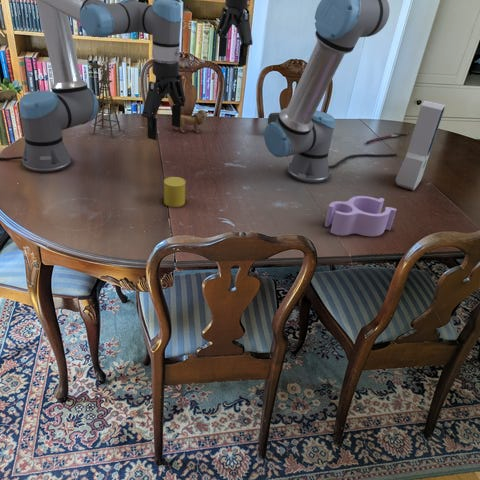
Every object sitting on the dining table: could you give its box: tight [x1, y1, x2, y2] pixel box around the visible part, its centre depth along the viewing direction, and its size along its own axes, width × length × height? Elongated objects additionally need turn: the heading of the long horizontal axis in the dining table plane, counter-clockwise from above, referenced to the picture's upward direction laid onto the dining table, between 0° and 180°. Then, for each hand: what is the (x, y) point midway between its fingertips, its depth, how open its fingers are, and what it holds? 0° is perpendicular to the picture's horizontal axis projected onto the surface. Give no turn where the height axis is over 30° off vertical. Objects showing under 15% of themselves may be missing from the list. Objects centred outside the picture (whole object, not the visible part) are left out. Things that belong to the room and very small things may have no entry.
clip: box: [324, 195, 398, 237], centre depth 141 cm, size 20×12×7 cm, turn 109°
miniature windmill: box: [91, 55, 122, 138], centre depth 181 cm, size 9×8×30 cm
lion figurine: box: [171, 109, 207, 134], centre depth 196 cm, size 15×5×9 cm, turn 110°
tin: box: [163, 176, 187, 208], centre depth 144 cm, size 7×7×7 cm
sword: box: [365, 132, 410, 145], centre depth 213 cm, size 31×3×1 cm, turn 126°
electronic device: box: [395, 100, 447, 191], centre depth 166 cm, size 12×8×30 cm, turn 148°
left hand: (164, 132), depth 144 cm, fingers open, 13 cm apart
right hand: (231, 60), depth 168 cm, fingers open, 13 cm apart
